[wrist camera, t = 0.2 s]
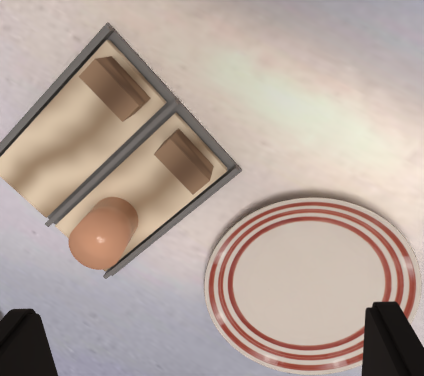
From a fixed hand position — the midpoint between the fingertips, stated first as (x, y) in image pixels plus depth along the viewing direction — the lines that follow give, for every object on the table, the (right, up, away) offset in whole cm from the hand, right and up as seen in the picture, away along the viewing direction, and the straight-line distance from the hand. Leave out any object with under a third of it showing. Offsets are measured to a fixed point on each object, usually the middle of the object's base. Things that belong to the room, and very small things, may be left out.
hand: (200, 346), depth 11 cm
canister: (-12, +1, +38) cm, 40 cm away
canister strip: (-9, +4, +39) cm, 40 cm away
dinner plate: (+13, -8, +42) cm, 45 cm away
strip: (-16, +11, +36) cm, 41 cm away
